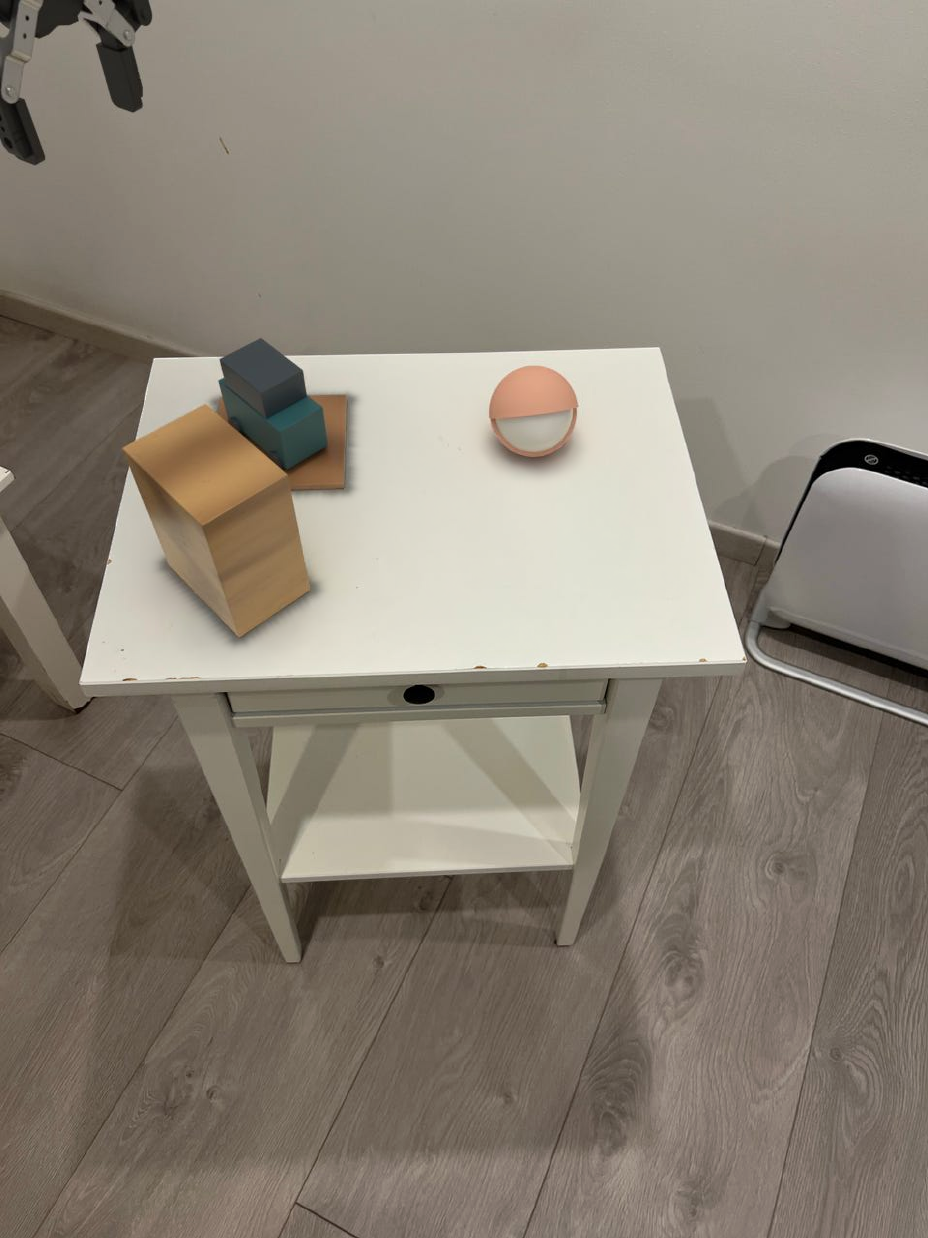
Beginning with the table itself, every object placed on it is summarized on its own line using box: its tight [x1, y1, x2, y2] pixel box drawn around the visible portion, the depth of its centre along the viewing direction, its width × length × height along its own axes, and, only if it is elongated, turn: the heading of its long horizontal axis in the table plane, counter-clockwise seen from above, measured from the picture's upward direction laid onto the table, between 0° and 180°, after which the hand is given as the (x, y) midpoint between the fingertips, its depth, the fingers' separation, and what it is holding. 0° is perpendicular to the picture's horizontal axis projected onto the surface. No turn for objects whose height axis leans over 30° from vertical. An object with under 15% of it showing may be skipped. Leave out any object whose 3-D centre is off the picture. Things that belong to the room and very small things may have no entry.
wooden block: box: [122, 403, 311, 638], centre depth 66 cm, size 10×7×13 cm
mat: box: [217, 394, 348, 491], centre depth 80 cm, size 12×12×1 cm
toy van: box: [217, 337, 328, 469], centre depth 76 cm, size 9×5×8 cm, turn 44°
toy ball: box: [488, 365, 579, 458], centre depth 78 cm, size 8×8×8 cm
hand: (82, 132), depth 56 cm, fingers open, 8 cm apart
